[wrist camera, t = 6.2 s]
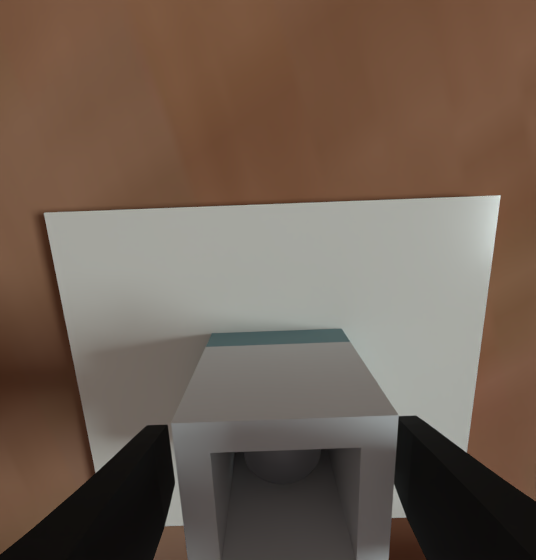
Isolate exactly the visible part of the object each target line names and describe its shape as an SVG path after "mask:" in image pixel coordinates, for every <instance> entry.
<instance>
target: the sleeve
mask: <svg viewBox="0 0 536 560" xmlns="http://www.w3.org/2000/svg"><path fill="white" fill-rule="evenodd" d="M398 419H399V415H398V413H397V412H396V410H395V409H394V407H393V406H392V404H391V403H390V401H389V400H388V398H387V397H386V395H385V394H384V392H383V391H382V389H381V388H380V386H379V385H378V383H377V381H376V380H375V378H374V377H373V375H372V374H371V372H370V371H369V369H368V368H367V366H366V365H365V363H364V362H363V360H362V359H361V357H360V356H359V354H358V353H357V351H356V350H355V348H354V347H353V345H352V344H351V342H350V341H349V339H348V337H347V336H346V334H345V333H344V331H343V330H342V329H314V330H287V331H259V332H232V333H212V334H211V336H210V338H209V341H208V343H207V345H206V347H205V349H204V352H203V354H202V356H201V358H200V360H199V363H198V365H197V367H196V369H195V371H194V374H193V376H192V378H191V380H190V382H189V385H188V387H187V389H186V391H185V393H184V396H183V398H182V400H181V402H180V404H179V407H178V409H177V411H176V413H175V415H174V418H173V420H172V422H171V428H172V436H173V444H174V452H175V460H176V468H177V476H178V484H179V492H180V500H181V508H182V516H183V524H184V532H185V540H186V548H187V556H188V560H389V547H390V533H391V519H392V504H393V490H394V476H395V461H396V447H397V433H398ZM307 449H321V455H320V460H319V462H318V464H317V466H316V468H315V469H314V470H313V471H312V472H311V473H310V474H309V475H308V476H307V477H305V478H304V479H302V480H300V481H297V482H294V483H290V484H274V483H269V482H266V481H264V480H262V479H260V478H259V477H257V476H256V475H255V474H253V473H252V471H251V470H250V469H249V467H248V466H247V464H246V461H245V458H244V452H251V451H279V450H307Z"/></svg>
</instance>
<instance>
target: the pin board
mask: <svg viewBox="0 0 536 560" xmlns="http://www.w3.org/2000/svg"><path fill="white" fill-rule="evenodd" d="M500 196H501V195H500ZM500 196H474V197H447V198H421V199H394V200H368V201H341V202H315V203H288V204H262V205H235V206H209V207H182V208H156V209H129V210H103V211H77V212H50V213H44V217H45V222H46V227H47V232H48V237H49V242H50V247H51V252H52V257H53V262H54V267H55V272H56V277H57V282H58V287H59V292H60V297H61V302H62V307H63V312H64V317H65V322H66V327H67V332H68V337H69V342H70V347H71V352H72V357H73V363H74V368H75V373H76V378H77V383H78V388H79V393H80V398H81V403H82V408H83V413H84V418H85V423H86V428H87V433H88V438H89V443H90V448H91V453H92V458H93V463H94V468H95V473H96V472H97V471H98V470H100V469H101V468H102V467H103V466H104V465H105V464H106V463H107V462H108V461H109V460H110V459H111V458H112V457H113V456H115V455H116V454H117V453H118V452H119V451H120V450H121V449H122V448H123V447H124V446H125V445H126V444H127V443H128V442H129V441H130V440H131V439H132V438H133V437H135V436H136V435H137V434H138V433H139V432H140V431H141V430H142V429H143V428H144V427H145V426H147V425H168V431H169V438H170V446H171V454H172V462H173V469H174V477H175V486H174V491H173V495H172V499H171V503H170V507H169V511H168V515H167V519H166V523H165V526H182V525H184V524H183V516H182V508H181V500H180V492H179V484H178V476H177V468H176V460H175V452H174V444H173V436H172V428H171V422H172V420H173V418H174V415H175V413H176V411H177V409H178V407H179V404H180V402H181V400H182V398H183V396H184V393H185V391H186V389H187V387H188V385H189V382H190V380H191V378H192V376H193V374H194V371H195V369H196V367H197V365H198V363H199V360H200V358H201V356H202V354H203V352H204V349H205V347H206V345H207V343H208V341H209V338H210V336H211V334H212V333H232V332H259V331H287V330H314V329H342V330H343V331H344V333H345V334H346V336H347V337H348V339H349V341H350V342H351V344H352V345H353V347H354V348H355V350H356V351H357V353H358V354H359V356H360V357H361V359H362V360H363V362H364V363H365V365H366V366H367V368H368V369H369V371H370V372H371V374H372V375H373V377H374V378H375V380H376V381H377V383H378V385H379V386H380V388H381V389H382V391H383V392H384V394H385V395H386V397H387V398H388V400H389V401H390V403H391V404H392V406H393V407H394V409H395V410H396V412H397V413H398V415H399V416H418V417H419V418H421V419H422V420H423V421H425V422H426V423H428V424H429V425H430V426H432V427H433V428H434V429H436V430H437V431H438V432H440V433H441V434H442V435H444V436H445V437H446V438H448V439H449V440H450V441H452V442H453V443H454V444H456V445H457V446H458V447H460V448H461V449H462V450H464V451H465V452H466V453H467V446H468V439H469V431H470V424H471V416H472V408H473V401H474V393H475V386H476V378H477V370H478V363H479V355H480V348H481V340H482V332H483V325H484V317H485V310H486V302H487V294H488V287H489V279H490V272H491V264H492V256H493V249H494V241H495V234H496V226H497V218H498V211H499V203H500ZM320 455H321V449H307V450H279V451H251V452H244V458H245V461H246V464H247V466H248V467H249V469H250V470H251V471H252V473H253V474H255V475H256V476H257V477H259V478H260V479H262V480H264V481H266V482H269V483H274V484H290V483H294V482H297V481H300V480H302V479H304V478H305V477H307V476H308V475H309V474H310V473H311V472H312V471H313V470H314V469H315V468H316V466H317V464H318V462H319V460H320ZM392 518H407V517H406V515H405V512H404V509H403V507H402V504H401V502H400V499H399V496H398V493H397V491H396V488H395V485H394V490H393V504H392Z"/></svg>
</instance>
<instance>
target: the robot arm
mask: <svg viewBox="0 0 536 560" xmlns="http://www.w3.org/2000/svg"><path fill="white" fill-rule="evenodd" d="M394 485H395V488H396V491H397V493H398V496H399V499H400V502H401V504H402V507H403V509H404V512H405V515H406V517H407V519H408V522H409V524H410V526H411V528H412V530H413V532H414V534H415V536H416V538H417V540H418V542H419V545H420V547H421V549H422V551H423V553H424V555H425V557H426V559H427V560H536V501H534V500H533V499H531V498H530V497H528V496H527V495H525V494H524V493H522V492H521V491H519V490H518V489H516V488H515V487H514V486H512V485H511V484H509V483H508V482H506V481H505V480H504V479H502V478H501V477H499V476H498V475H497V474H495V473H494V472H492V471H491V470H490V469H488V468H487V467H485V466H484V465H483V464H481V463H480V462H479V461H477V460H476V459H475V458H473V457H472V456H470V455H469V454H468V453H466V452H465V451H464V450H462V449H461V448H460V447H458V446H457V445H456V444H454V443H453V442H452V441H450V440H449V439H448V438H446V437H445V436H444V435H442V434H441V433H440V432H438V431H437V430H436V429H434V428H433V427H432V426H430V425H429V424H428V423H426V422H425V421H423V420H422V419H421V418H419V417H418V416H399V419H398V433H397V447H396V461H395V476H394ZM174 486H175V477H174V469H173V462H172V454H171V446H170V438H169V431H168V425H147V426H145V427H144V428H143V429H142V430H141V431H140V432H139V433H138V434H137V435H136V436H135V437H133V438H132V439H131V440H130V441H129V442H128V443H127V444H126V445H125V446H124V447H123V448H122V449H121V450H120V451H119V452H118V453H117V454H116V455H115V456H113V457H112V458H111V459H110V460H109V461H108V462H107V463H106V464H105V465H104V466H103V467H102V468H101V469H100V470H98V471H97V472H96V473H95V474H94V475H93V476H92V477H91V478H90V479H89V480H88V481H87V482H86V483H84V484H83V485H82V486H81V487H80V488H79V489H78V490H77V491H75V492H74V493H73V494H72V495H71V496H70V497H69V498H67V499H66V500H65V501H64V502H63V503H62V504H60V505H59V506H58V507H57V508H56V509H55V510H54V511H52V512H51V513H50V514H49V515H48V516H47V517H45V518H44V519H43V520H42V521H41V522H40V523H39V524H37V525H36V526H35V527H34V528H33V529H31V530H30V531H29V532H28V533H27V534H25V535H24V536H23V537H22V538H21V539H19V540H18V541H17V542H16V543H14V544H13V545H12V546H11V547H9V548H8V549H7V550H6V551H4V552H3V553H2V554H0V560H153V558H154V556H155V553H156V550H157V547H158V544H159V541H160V538H161V535H162V532H163V530H164V527H165V523H166V519H167V515H168V511H169V507H170V503H171V499H172V495H173V491H174Z"/></svg>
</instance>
